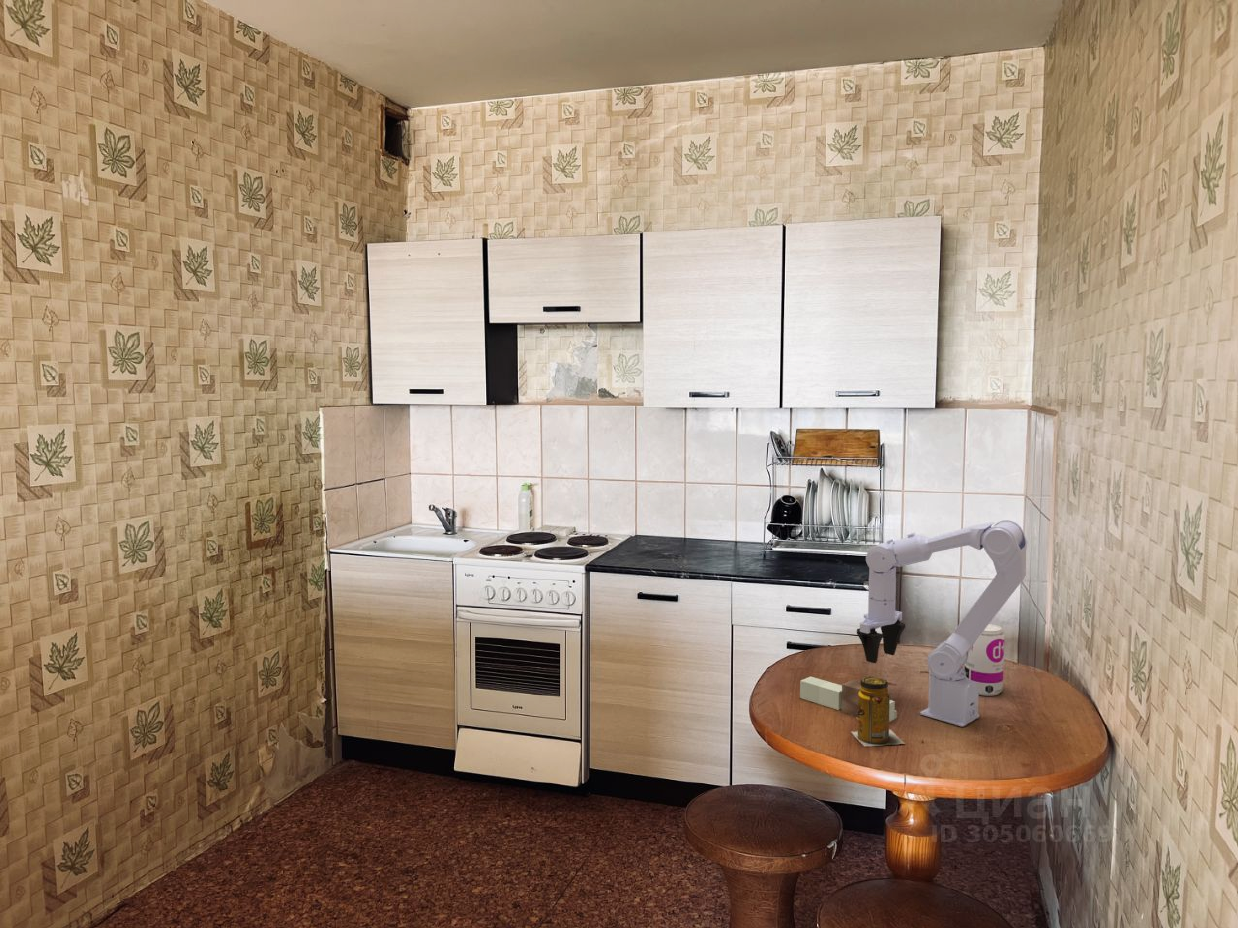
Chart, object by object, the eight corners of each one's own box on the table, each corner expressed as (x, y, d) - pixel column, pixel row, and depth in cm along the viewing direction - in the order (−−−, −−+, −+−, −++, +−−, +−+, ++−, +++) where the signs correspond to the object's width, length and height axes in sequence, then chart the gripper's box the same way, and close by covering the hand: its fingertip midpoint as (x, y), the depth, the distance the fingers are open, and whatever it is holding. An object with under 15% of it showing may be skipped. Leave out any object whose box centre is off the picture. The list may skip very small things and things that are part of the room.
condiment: (850, 732, 175) (851, 675, 174) (890, 730, 176) (891, 673, 175) (863, 747, 168) (865, 688, 167) (905, 745, 169) (907, 686, 168)
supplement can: (1010, 693, 195) (1013, 629, 194) (982, 698, 192) (984, 633, 191) (983, 681, 203) (985, 619, 201) (956, 686, 200) (958, 623, 198)
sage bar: (896, 718, 182) (897, 699, 182) (884, 724, 179) (884, 706, 178) (812, 692, 197) (813, 675, 197) (799, 697, 194) (800, 680, 193)
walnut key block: (867, 711, 186) (868, 684, 185) (857, 716, 183) (858, 689, 182) (851, 706, 189) (852, 679, 188) (841, 711, 186) (842, 684, 185)
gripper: (882, 589, 197) (881, 646, 198) (847, 600, 187) (846, 661, 188) (911, 594, 192) (909, 653, 193) (877, 606, 182) (875, 668, 183)
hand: (880, 657), depth 190 cm, fingers open, 7 cm apart
